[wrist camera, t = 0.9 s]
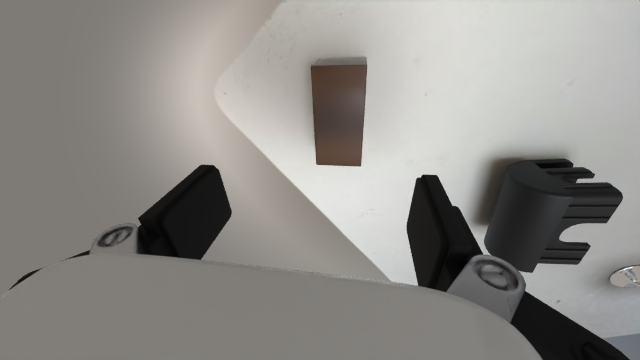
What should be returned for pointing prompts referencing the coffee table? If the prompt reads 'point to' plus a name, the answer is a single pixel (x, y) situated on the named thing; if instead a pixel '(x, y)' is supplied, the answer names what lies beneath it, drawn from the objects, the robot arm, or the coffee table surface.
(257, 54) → the coffee table surface
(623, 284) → the wineglass
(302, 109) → the coffee table surface
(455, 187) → the coffee table surface
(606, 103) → the coffee table surface
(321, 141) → the eraser
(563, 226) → the end cap
